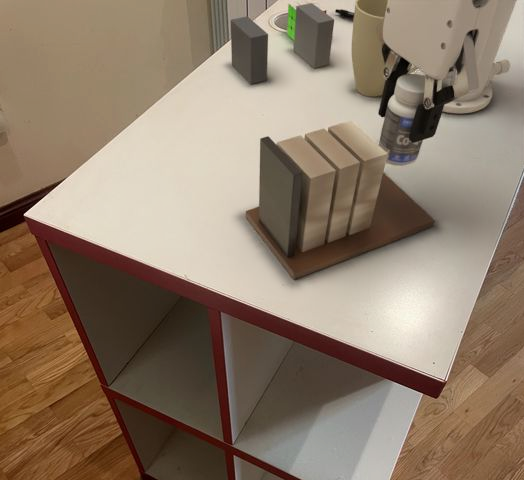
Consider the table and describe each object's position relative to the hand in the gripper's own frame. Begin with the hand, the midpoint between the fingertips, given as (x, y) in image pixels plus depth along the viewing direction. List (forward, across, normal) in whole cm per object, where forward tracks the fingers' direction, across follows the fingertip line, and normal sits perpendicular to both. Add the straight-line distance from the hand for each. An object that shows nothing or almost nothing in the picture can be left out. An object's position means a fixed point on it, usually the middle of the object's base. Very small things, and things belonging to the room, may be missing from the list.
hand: (406, 124), depth 57 cm
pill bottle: (+4, 0, 0) cm, 4 cm away
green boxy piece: (+11, +45, -15) cm, 49 cm away
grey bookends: (+11, +38, -6) cm, 40 cm away
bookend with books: (+11, 0, +7) cm, 13 cm away
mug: (+11, +24, -16) cm, 31 cm away
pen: (+11, +45, -29) cm, 54 cm away
